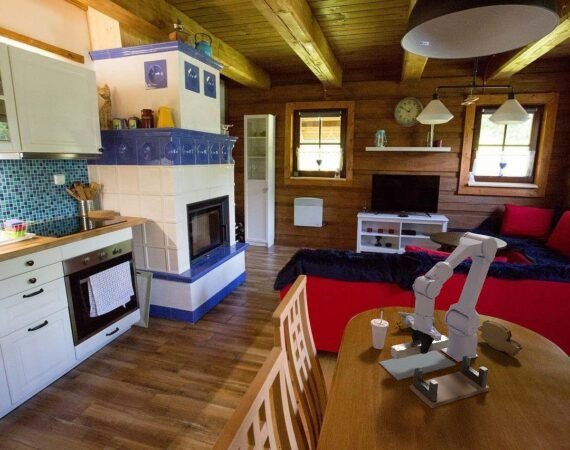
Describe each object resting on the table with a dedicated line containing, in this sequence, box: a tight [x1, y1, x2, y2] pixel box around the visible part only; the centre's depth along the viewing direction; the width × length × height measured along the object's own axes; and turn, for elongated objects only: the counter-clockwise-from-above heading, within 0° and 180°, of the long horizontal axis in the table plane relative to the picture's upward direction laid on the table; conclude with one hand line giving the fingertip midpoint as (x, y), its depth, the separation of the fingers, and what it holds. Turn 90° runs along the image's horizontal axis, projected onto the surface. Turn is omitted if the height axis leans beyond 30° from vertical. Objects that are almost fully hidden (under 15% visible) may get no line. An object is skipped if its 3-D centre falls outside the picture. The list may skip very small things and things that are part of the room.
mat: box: [378, 350, 457, 381], centre depth 119 cm, size 24×10×1 cm, turn 110°
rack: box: [409, 356, 490, 409], centre depth 105 cm, size 22×9×7 cm, turn 110°
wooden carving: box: [477, 319, 523, 357], centre depth 128 cm, size 16×5×10 cm, turn 26°
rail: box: [390, 334, 450, 359], centre depth 116 cm, size 22×3×3 cm, turn 110°
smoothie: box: [370, 311, 390, 350], centre depth 128 cm, size 6×6×14 cm
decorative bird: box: [396, 311, 437, 331], centre depth 143 cm, size 5×16×8 cm, turn 91°
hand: (420, 350), depth 117 cm, fingers closed on rail, 3 cm apart
